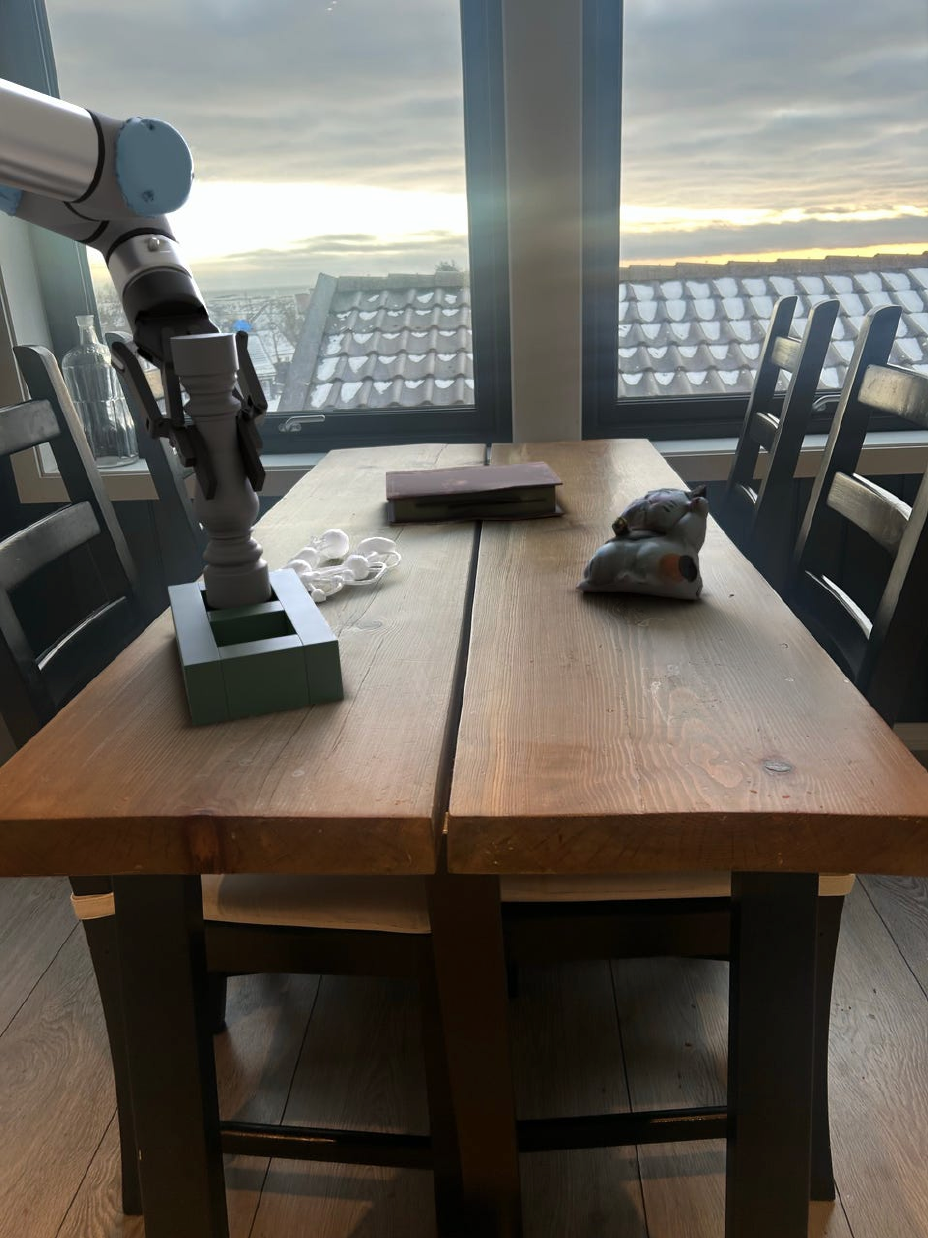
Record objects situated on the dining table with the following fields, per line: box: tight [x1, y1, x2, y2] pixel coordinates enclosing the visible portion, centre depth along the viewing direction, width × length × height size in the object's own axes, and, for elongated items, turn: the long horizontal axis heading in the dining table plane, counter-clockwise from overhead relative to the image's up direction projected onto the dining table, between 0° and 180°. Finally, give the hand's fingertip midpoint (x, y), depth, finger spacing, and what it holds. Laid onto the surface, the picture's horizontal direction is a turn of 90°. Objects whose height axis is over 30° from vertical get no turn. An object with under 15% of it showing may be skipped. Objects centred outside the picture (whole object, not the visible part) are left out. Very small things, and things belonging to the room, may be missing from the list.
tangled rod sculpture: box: [275, 528, 403, 604], centre depth 119 cm, size 19×14×4 cm
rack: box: [167, 568, 345, 727], centre depth 95 cm, size 13×23×6 cm, turn 19°
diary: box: [385, 460, 564, 526], centre depth 149 cm, size 19×25×5 cm
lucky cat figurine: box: [574, 484, 710, 603], centre depth 108 cm, size 15×12×14 cm
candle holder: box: [170, 332, 271, 609], centre depth 94 cm, size 6×6×25 cm
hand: (235, 486), depth 91 cm, fingers closed on candle holder, 4 cm apart
